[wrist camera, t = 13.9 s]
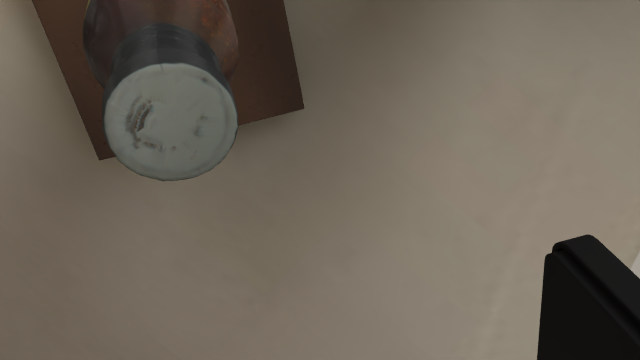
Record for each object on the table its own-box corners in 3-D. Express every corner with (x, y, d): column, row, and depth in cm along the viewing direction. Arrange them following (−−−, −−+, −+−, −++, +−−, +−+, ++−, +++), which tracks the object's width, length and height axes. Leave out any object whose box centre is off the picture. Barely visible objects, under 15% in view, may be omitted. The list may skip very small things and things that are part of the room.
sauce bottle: (75, -34, 33) (-15, 96, 16) (163, -103, 32) (167, -45, 15) (155, 58, 36) (151, 243, 19) (236, -4, 35) (305, 133, 19)
